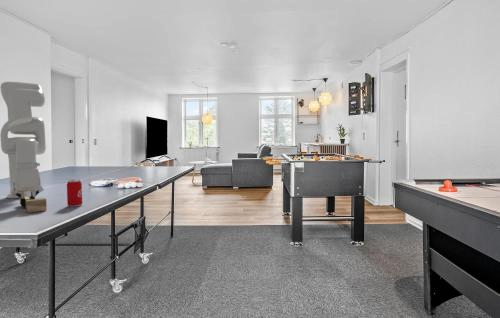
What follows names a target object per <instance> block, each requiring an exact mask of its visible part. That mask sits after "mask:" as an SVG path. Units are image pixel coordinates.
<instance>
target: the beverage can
mask: <svg viewBox="0 0 500 318" xmlns="http://www.w3.org/2000/svg"><path fill="white" fill-rule="evenodd" d="M82 185H83V183H82V181H81V180H80V179H71V180H67V183H66V196H67V197H66V202H67V203H66V204H67V206H68V207H70V208H77V207H81V206H82V205H83V186H82Z"/></svg>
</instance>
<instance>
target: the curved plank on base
mask: <svg viewBox="0 0 500 318" xmlns="http://www.w3.org/2000/svg"><path fill="white" fill-rule="evenodd" d="M24 197H25V199H26V200H25V201H26V207H25V212H26V213H27V214H30V213H37V212H44V211H47V210H48V207H47V199H46V198H45V197H41V198H35V199H31V198H30V197H27V196H24ZM19 205H20V206H21V201H20V200H19Z"/></svg>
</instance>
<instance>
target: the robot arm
mask: <svg viewBox="0 0 500 318" xmlns="http://www.w3.org/2000/svg"><path fill="white" fill-rule="evenodd" d="M0 93H1V96H2V99H3V101H4V102H5V105H6V108H7V121H6V122H4V124H3V125H2V128H1V129H0V148H1V151H2V153H4V154H5V155H7V157H8V172H9V188H10V189H9V190H10V191H9V194H7V195H6V198H8V199H19V202H20V201H21V205H20V206H22V208H26V201H25V200H26V199H25V197H24V196H27V197H29V198H31V199H36V197H37V195H38V194H40V193H42V192H43V191H44V190H45V189H44V188H43V186H42V184H41V183H42V181H41V177H40V172H39V168H38V167H41V166H40V165H41V164H40V162H37V156H39V155H40V156H41V155H43V154H45V152H46V149H47V148H46V147H47V145H46V129H45V121H44V120H43V119H42V118H41V117H40V116H39V117H38V116H33V114H32V107H34V108H35V107H39V108H40V107H43V106H44V105H45V102H46V101H45V100H46V99H45V94H44V91H43V88H42V87H41V85H40V84H38V83H31V82H20V81H4V82H2V83H0ZM9 132H10V133H11V134H12V135H21V136H14V137H8V135H9ZM22 135H28V137H27V136H22ZM29 135H30V136H29ZM31 135H32V136H31Z"/></svg>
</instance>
